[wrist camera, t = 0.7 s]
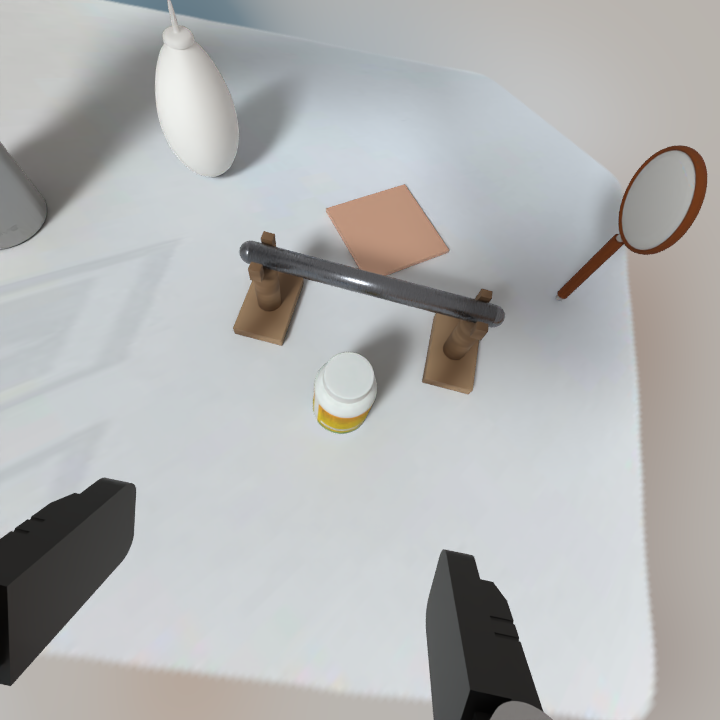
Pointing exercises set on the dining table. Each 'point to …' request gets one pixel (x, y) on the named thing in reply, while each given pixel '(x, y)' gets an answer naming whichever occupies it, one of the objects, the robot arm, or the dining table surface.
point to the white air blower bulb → (194, 104)
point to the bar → (371, 284)
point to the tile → (386, 231)
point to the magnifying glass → (653, 208)
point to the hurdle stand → (278, 300)
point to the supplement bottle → (344, 393)
